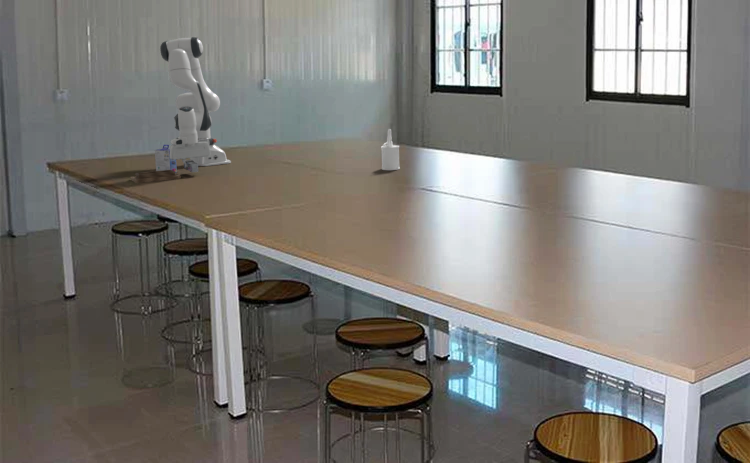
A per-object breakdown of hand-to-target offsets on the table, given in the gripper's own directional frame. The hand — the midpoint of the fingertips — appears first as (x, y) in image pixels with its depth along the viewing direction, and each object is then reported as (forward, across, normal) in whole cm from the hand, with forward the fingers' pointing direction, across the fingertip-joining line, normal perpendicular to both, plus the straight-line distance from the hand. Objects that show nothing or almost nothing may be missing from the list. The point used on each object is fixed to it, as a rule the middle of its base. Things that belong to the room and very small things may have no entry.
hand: (191, 166), depth 458 cm
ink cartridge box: (+4, +9, -17) cm, 19 cm away
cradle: (+4, +19, +2) cm, 19 cm away
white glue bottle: (+5, -88, +48) cm, 100 cm away
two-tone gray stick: (+2, 0, 0) cm, 2 cm away
